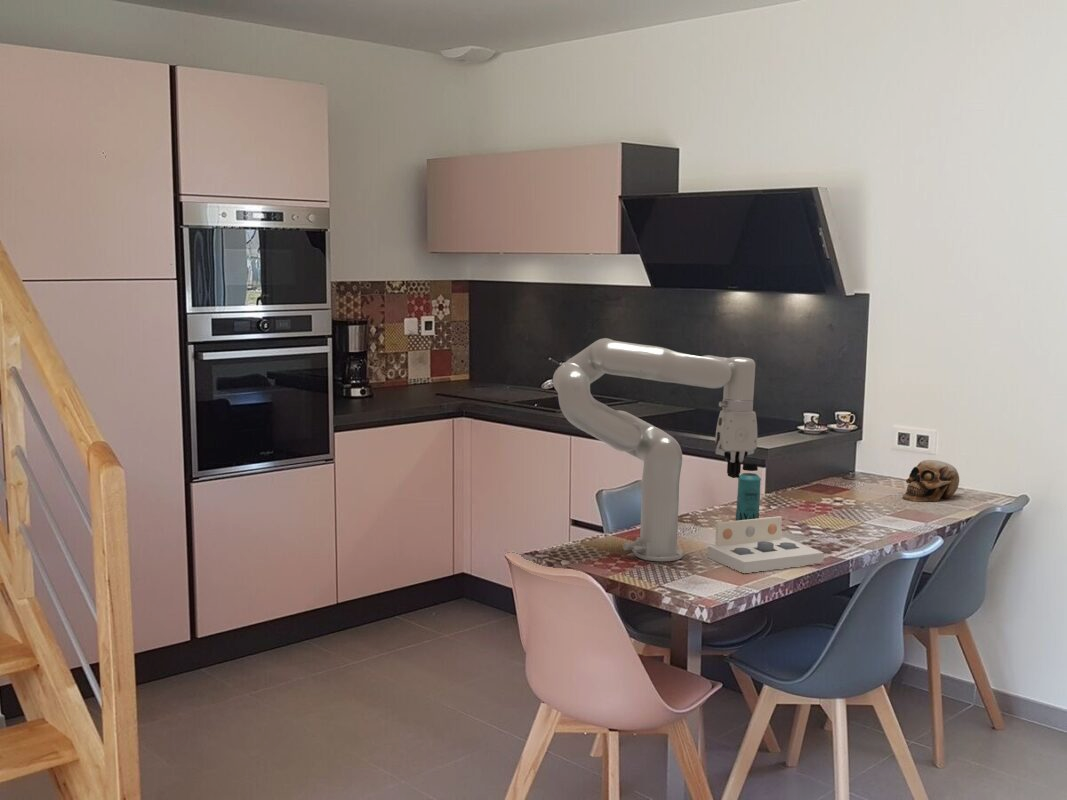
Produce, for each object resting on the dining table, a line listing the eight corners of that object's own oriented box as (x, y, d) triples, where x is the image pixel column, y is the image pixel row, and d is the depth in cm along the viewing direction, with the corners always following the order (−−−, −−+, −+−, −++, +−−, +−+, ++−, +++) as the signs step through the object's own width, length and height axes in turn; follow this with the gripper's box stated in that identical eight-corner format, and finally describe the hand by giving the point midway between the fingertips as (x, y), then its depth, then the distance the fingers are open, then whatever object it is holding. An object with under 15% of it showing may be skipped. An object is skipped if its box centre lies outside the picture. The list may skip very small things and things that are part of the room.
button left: (739, 564, 267) (740, 552, 267) (730, 560, 271) (731, 548, 271) (753, 562, 269) (753, 551, 269) (743, 558, 273) (744, 547, 272)
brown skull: (900, 499, 346) (905, 458, 346) (909, 495, 362) (914, 456, 361) (951, 507, 339) (956, 465, 338) (958, 502, 354) (963, 462, 353)
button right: (785, 558, 273) (786, 547, 273) (776, 554, 277) (776, 543, 276) (798, 557, 275) (799, 545, 274) (788, 553, 278) (789, 541, 278)
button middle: (763, 557, 270) (763, 546, 270) (753, 553, 274) (754, 542, 273) (776, 556, 272) (776, 544, 271) (766, 552, 275) (767, 540, 275)
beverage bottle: (730, 530, 304) (733, 460, 301) (750, 528, 306) (753, 459, 303) (742, 535, 297) (745, 464, 295) (763, 534, 300) (766, 463, 297)
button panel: (743, 574, 261) (745, 538, 260) (707, 557, 275) (708, 523, 274) (823, 564, 271) (825, 529, 269) (783, 548, 285) (785, 515, 284)
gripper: (719, 408, 267) (715, 480, 269) (771, 407, 272) (766, 478, 274) (704, 404, 274) (700, 475, 276) (755, 403, 279) (750, 473, 281)
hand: (733, 476), depth 275 cm, fingers closed
